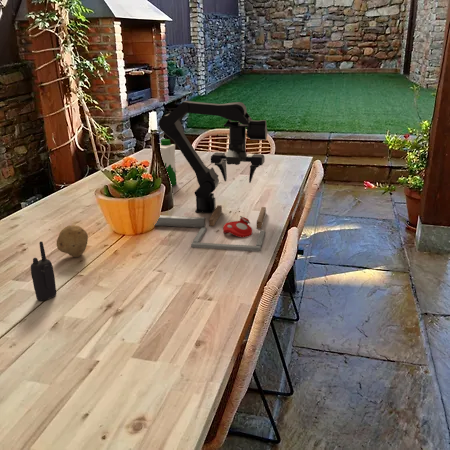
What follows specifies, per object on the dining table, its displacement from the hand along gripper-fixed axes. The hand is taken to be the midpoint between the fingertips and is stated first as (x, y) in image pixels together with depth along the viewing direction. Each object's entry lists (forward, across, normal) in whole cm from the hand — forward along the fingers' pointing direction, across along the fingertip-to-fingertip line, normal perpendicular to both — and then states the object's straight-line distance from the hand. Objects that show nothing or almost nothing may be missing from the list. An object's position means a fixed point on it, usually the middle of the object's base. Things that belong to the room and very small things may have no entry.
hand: (237, 181), depth 173 cm
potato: (+12, -39, -49) cm, 64 cm away
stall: (+12, +2, -8) cm, 14 cm away
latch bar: (+12, -16, -19) cm, 27 cm away
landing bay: (+11, +3, -27) cm, 29 cm away
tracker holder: (+12, +6, -19) cm, 23 cm away
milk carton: (+12, -40, +28) cm, 50 cm away
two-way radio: (+12, -33, -72) cm, 80 cm away
